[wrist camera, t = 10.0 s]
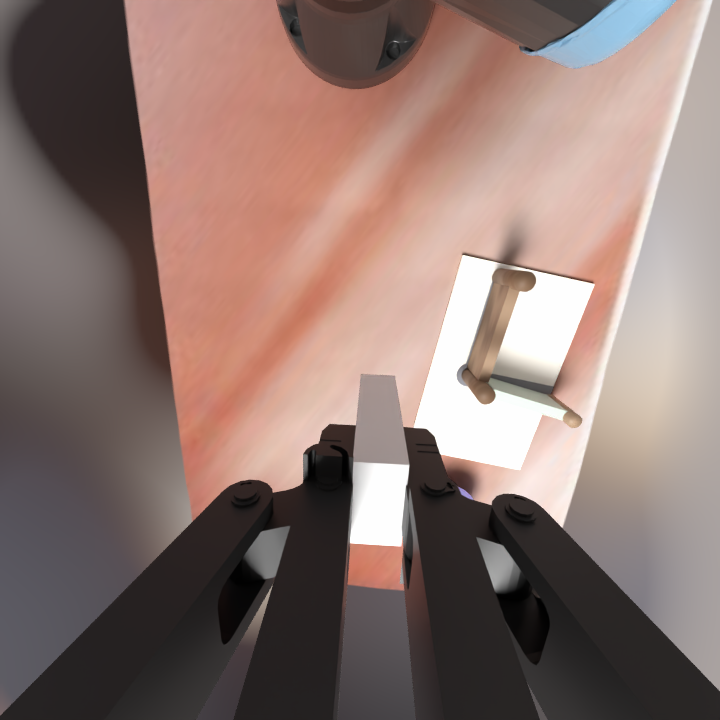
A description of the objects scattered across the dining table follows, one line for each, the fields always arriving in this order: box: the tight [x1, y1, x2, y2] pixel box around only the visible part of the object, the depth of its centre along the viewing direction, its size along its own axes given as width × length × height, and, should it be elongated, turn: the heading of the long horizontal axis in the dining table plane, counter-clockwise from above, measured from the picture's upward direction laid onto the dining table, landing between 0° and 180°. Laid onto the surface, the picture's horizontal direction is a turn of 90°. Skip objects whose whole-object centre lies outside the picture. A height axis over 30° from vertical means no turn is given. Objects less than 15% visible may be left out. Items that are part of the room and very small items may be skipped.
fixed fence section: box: [461, 268, 536, 405], centre depth 39 cm, size 14×2×7 cm, turn 168°
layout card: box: [413, 255, 595, 470], centre depth 45 cm, size 26×16×1 cm, turn 168°
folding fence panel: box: [487, 378, 582, 428], centre depth 42 cm, size 10×2×6 cm, turn 73°
